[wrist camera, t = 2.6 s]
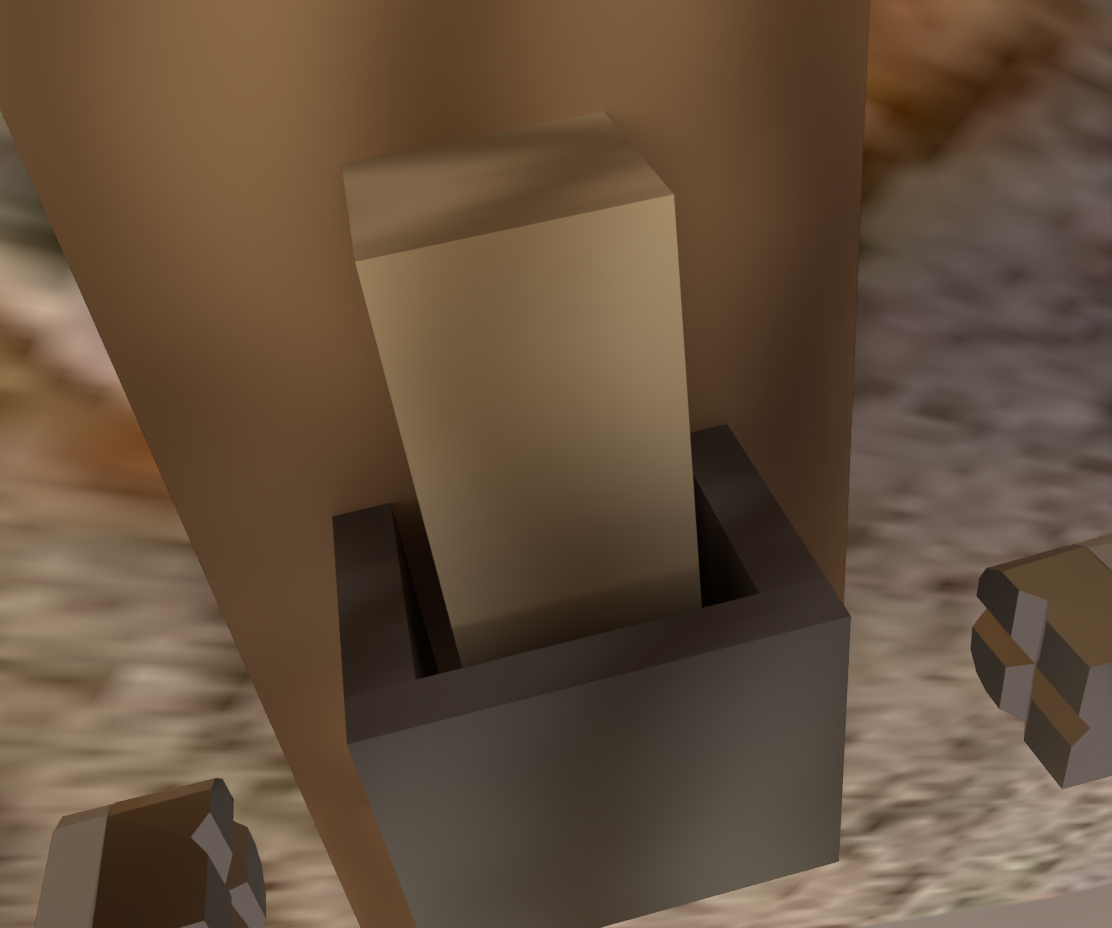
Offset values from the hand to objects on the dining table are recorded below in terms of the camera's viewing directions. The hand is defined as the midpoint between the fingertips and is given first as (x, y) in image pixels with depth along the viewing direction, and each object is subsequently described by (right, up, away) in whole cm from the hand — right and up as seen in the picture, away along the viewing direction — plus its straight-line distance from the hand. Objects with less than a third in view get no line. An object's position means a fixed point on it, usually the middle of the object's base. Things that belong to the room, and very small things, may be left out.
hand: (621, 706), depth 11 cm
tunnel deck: (-2, +3, +13) cm, 14 cm away
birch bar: (-1, +2, +11) cm, 11 cm away
